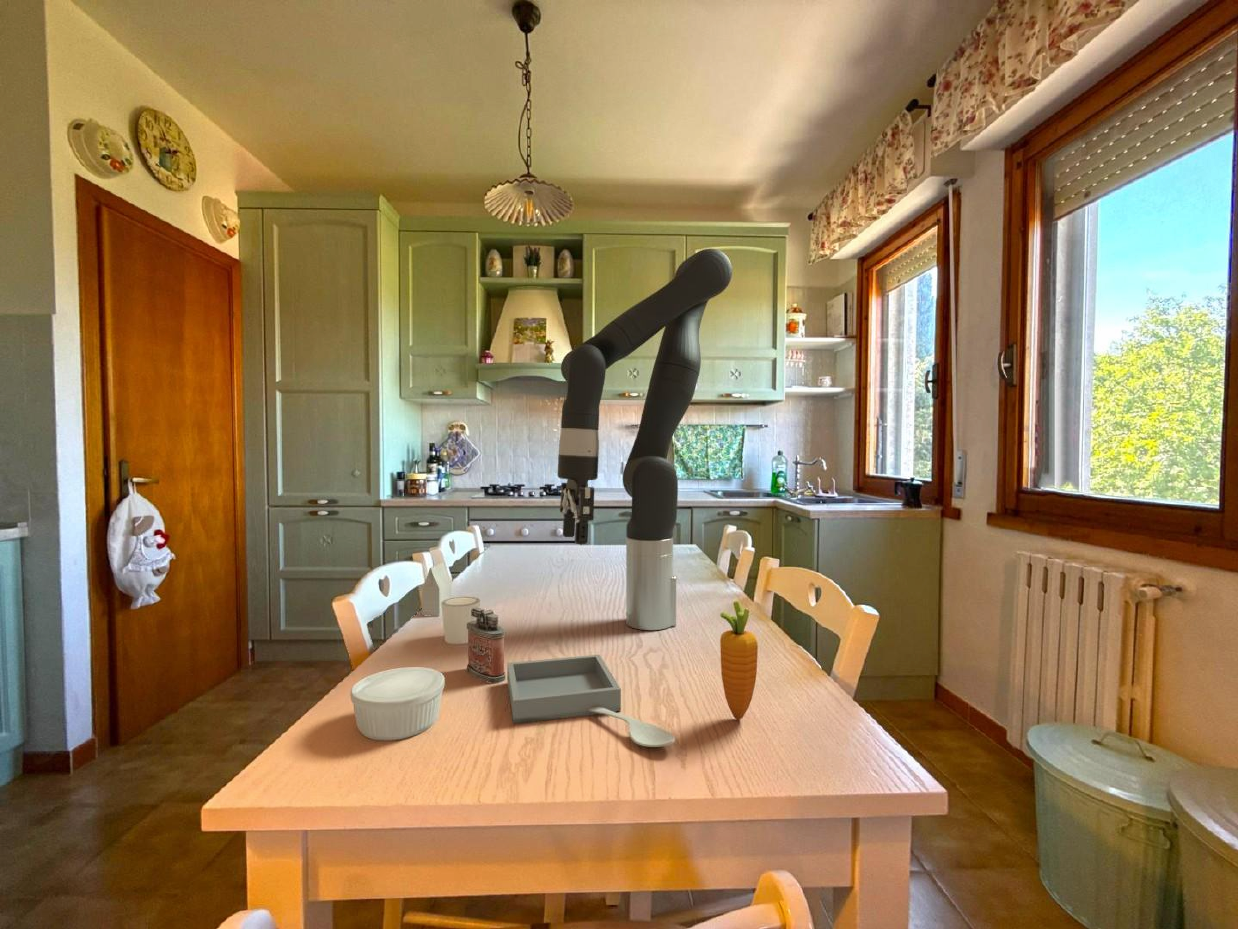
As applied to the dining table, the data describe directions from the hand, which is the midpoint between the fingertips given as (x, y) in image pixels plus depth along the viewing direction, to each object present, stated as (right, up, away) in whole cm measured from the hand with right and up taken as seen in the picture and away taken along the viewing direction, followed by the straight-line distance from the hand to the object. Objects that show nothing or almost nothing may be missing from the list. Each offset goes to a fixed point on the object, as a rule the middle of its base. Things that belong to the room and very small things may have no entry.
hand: (574, 540), depth 107 cm
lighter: (-12, -18, -19) cm, 29 cm away
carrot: (+24, -19, -34) cm, 45 cm away
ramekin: (-20, -19, -35) cm, 44 cm away
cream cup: (-21, -18, -3) cm, 27 cm away
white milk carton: (-30, -17, +14) cm, 38 cm away
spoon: (+7, -19, -35) cm, 40 cm away
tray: (0, -18, -27) cm, 33 cm away
